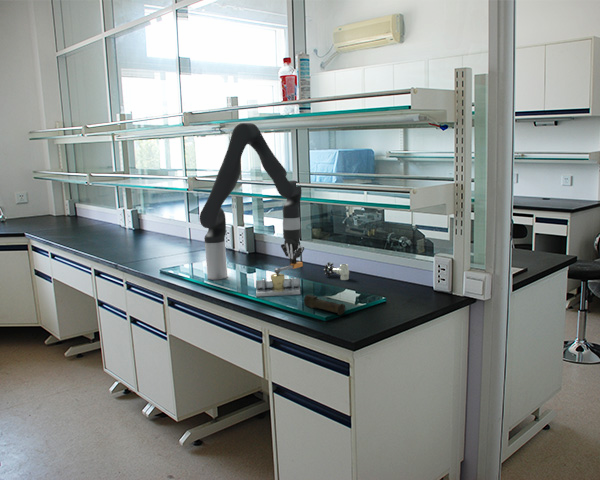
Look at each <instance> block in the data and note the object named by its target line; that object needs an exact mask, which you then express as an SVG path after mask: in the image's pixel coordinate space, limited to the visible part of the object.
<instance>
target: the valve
mask: <svg viewBox="0 0 600 480" xmlns="http://www.w3.org/2000/svg"><path fill="white" fill-rule="evenodd" d="M322 270H323V272H325V273H324V276H328V277H331V276H332V275H333V274H334V273H336V275H340V280H341V281H348V280H349V279H350V278H349V276H350V269H349V264H347V263H341V264H340V265H339V267H337V268H335V266H334V263H333V262H330V261H327V263H326V264H324V269H322Z"/></svg>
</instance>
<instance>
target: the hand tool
mask: <svg viewBox="0 0 600 480" xmlns="http://www.w3.org/2000/svg"><path fill="white" fill-rule="evenodd" d="M303 298H304V299H303V304H304V306H306V307H307V308H311V309H319V310H323V311H327V312H331V313H334V314H337V315H338V316H341V315H344V313H345V311H346V305H345V304H344V303H337V302H335V301H328V300H324V299H321V298H318V296H317V295H312V294H306V295H305V296H304V297H303Z"/></svg>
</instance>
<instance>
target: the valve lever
mask: <svg viewBox="0 0 600 480" xmlns="http://www.w3.org/2000/svg"><path fill="white" fill-rule="evenodd" d="M301 267H304V266H303V261H296V262H295V263H292V264H290V263H289V265H287V266H282V267H276V268H274V274H276V273H280V274H281V272H283V271H287V270H291V269H298V268H301Z"/></svg>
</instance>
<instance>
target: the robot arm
mask: <svg viewBox="0 0 600 480" xmlns="http://www.w3.org/2000/svg"><path fill="white" fill-rule="evenodd" d="M247 145H249V146H250V147H251V148H252V149H253V150H254V151H255V152H256V153H257V155H258V157H259V160H260V163H261V165H262V167H263V169H264V171H265V172H266V174H267V175H268V176H269V177H270V179H271V180H272V182H273V184H274V186H275V189H276V191H277V192H278V194H279V195H280V196H281V197H282V198H283V199H286V202H285V203H284V204H283V205H282V233H283V235H282V236H283V237H282V238H283V239H284V240H283V241H284V243H283V244H281V245H280V248H281V250H282V251H283V253H284V255H285V257H288V259H289V265H290V264H292V263H295V262H297V259H298V258H300V257H301V255H302V254H303V253H304V250H305V247H304V246H302V245H301V242H300V239H301V237H302V236H301V235H302V234H301V232H302V231H301V219H300V205H301V200H300V199H302V190H303V189H302V186H301V187H296V183H299V182H298V180H289V179H288V178H287V174H288V172H287V170H286V168H285V167H284V166H283V165H282V163H281V162H280V161H279V160H278V158H277V157H276V156H275V153H273V151H272V150H271V148H270V146H269V145H268V143H267V142H266V140H265V138H264V135H263V134H262V132H261V130H260V129H259V127H258V126H257V125H256V124H254V123H252V122H239V123H237V124H236V125H235V126H234V128H233V130H232V133H231V136H230V139H229V143H228V147H227V150H226V153H225V155H224V157H223V161H222V163H221V165H220V168H219V170H218V172H217V174H216V177H215V181H214V183H213V186H212V188H211V191H210V194H209V196H208V198H207V200H206V202H205V203H204V205H203V207H202V210H200V214H199V223H200V225H201V226H202V227H203V228H204V229H208V230H207V232H206V233H205V236H204V250H205V260H206V261H205V263H206V273H207V279H208V280H212V281H213V280H216V281H217V280H223V279H227V278H228V267H227V264H228V263H227V253H226V251H227V250H226V233H227V226H226V225H227V224H226V223H227V222H226V213H225V211H224V209H223V208H222V206H223V204H224V202H225V200H227V198H228V197H229V196H230V195H231V194H232V193H233V190H234V189H235V188H236V186H237V184H238V181H239V178H240V176H241V169H242V166H241V165H242V164H241V161H242V155H243V152H244V150H245V149H246V146H247Z"/></svg>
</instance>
